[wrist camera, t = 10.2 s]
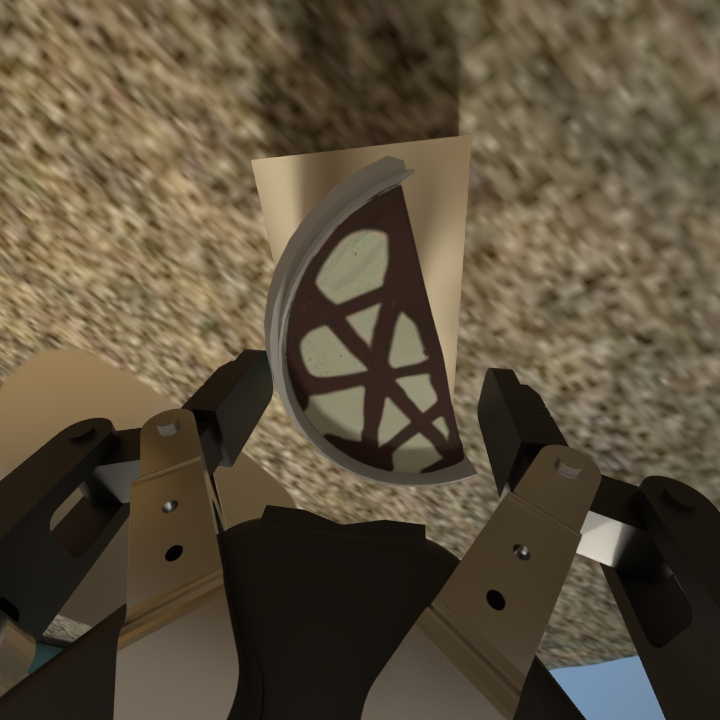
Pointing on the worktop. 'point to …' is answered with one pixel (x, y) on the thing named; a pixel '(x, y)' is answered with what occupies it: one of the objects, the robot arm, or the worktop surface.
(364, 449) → the food container
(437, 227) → the maple block
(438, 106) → the worktop surface
